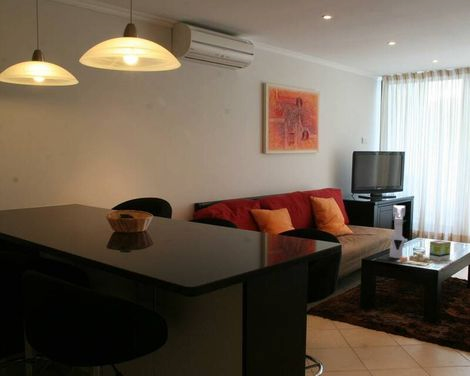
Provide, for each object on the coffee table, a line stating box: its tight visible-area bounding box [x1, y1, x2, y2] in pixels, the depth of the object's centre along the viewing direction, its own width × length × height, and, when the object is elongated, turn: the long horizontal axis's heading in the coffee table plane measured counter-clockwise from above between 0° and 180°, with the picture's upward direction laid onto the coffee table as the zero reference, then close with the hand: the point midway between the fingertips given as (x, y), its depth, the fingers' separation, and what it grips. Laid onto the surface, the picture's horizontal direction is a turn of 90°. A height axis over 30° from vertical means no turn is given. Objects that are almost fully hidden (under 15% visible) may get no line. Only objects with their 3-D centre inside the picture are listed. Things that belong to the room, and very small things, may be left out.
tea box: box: [428, 239, 451, 262], centre depth 387 cm, size 15×10×15 cm
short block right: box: [423, 256, 431, 264], centre depth 374 cm, size 4×4×4 cm
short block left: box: [409, 254, 416, 261], centre depth 381 cm, size 4×4×4 cm
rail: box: [396, 259, 430, 267], centre depth 371 cm, size 22×8×1 cm, turn 48°
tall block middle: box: [415, 252, 424, 262], centre depth 378 cm, size 4×4×6 cm
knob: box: [399, 255, 408, 261], centre depth 375 cm, size 4×4×3 cm
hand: (397, 249), depth 379 cm, fingers closed
